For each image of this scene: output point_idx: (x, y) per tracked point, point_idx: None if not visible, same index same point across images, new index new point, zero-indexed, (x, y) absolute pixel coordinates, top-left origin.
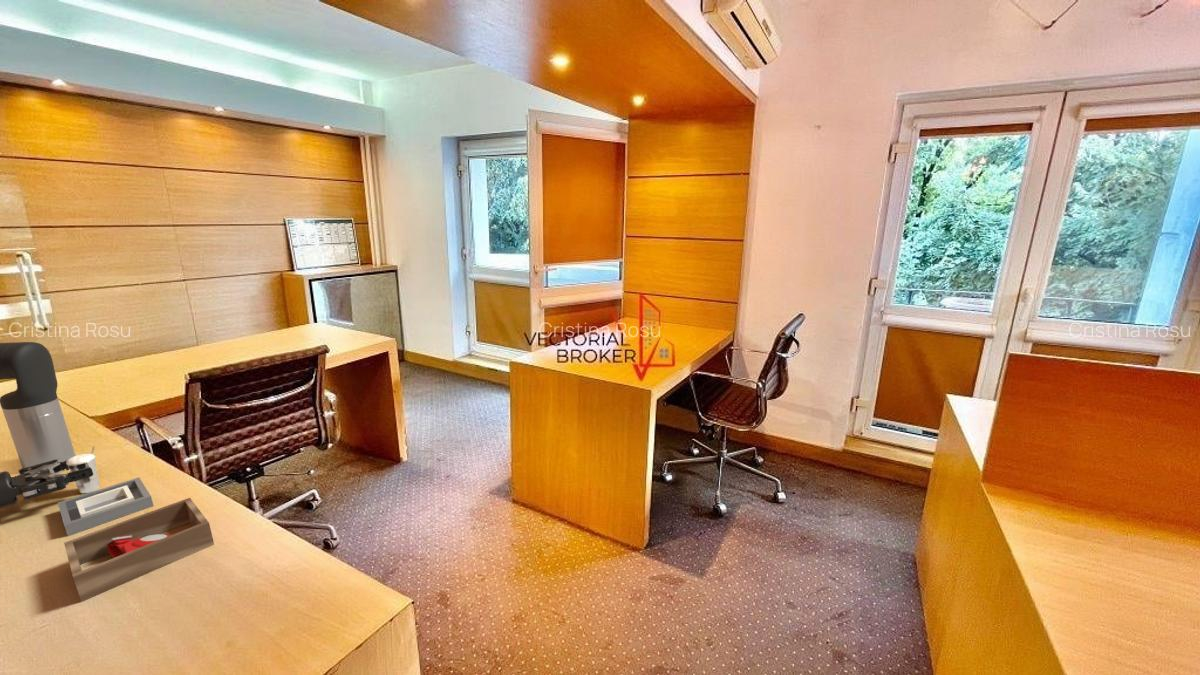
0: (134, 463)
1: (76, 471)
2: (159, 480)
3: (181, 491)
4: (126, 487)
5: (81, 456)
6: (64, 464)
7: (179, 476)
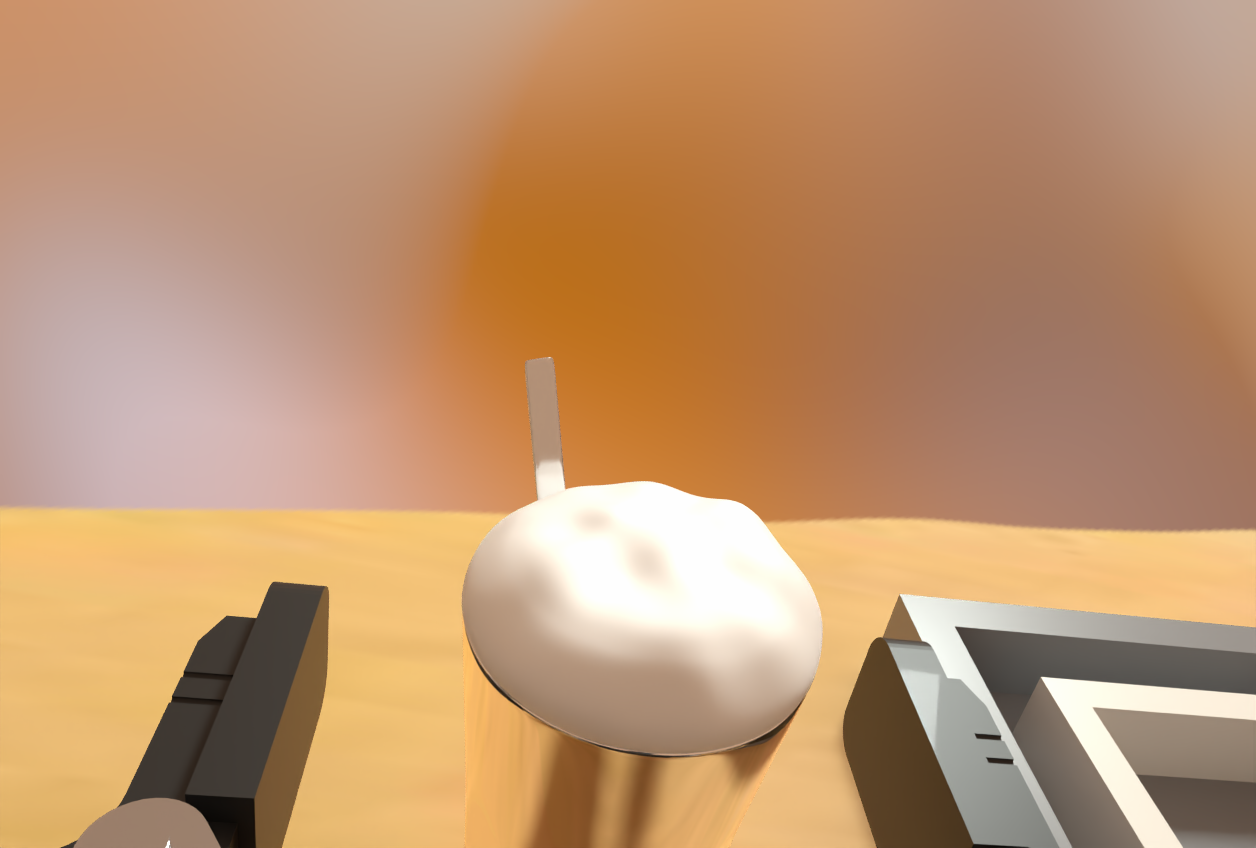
0: (184, 584)
1: (980, 751)
2: (829, 589)
3: (1137, 576)
4: (1101, 689)
5: (690, 534)
6: (254, 835)
7: (848, 521)
